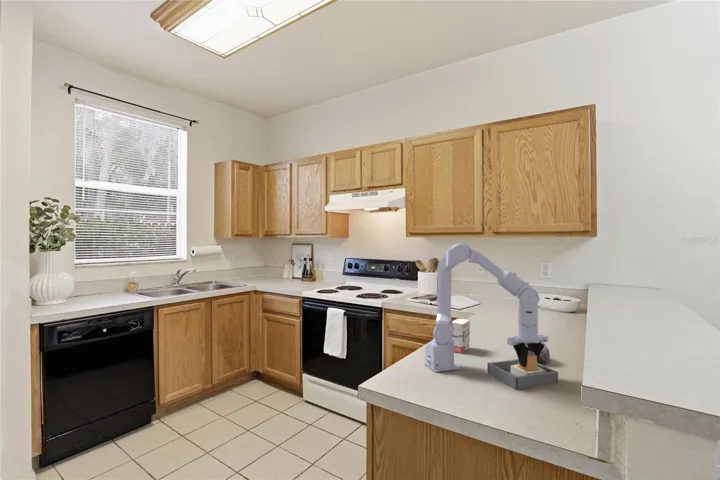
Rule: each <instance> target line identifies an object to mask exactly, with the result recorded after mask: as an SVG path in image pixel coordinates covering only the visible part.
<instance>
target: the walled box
mask: <svg viewBox="0 0 720 480" xmlns="http://www.w3.org/2000/svg"><path fill="white" fill-rule="evenodd" d="M487 374H488V375H490V376H491V377H493V378H495V379H497V380H498V381H500V382H502V383H504V384H505V385H507V386H509V387H510V388H512V389H513V390H515V391H517V390H523V389H529V388H537V387H543V386H550V385H555V384H559V371H557V370H555V369H552V368H550V367H548V366H545V365H544V364H540V363H537V371H529V372H526V371H524V370H522V369H520V368H519V359H518V358H515V359H508V360H501V361H492V362H487Z"/></svg>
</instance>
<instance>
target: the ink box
mask: <svg viewBox="0 0 720 480" xmlns="http://www.w3.org/2000/svg"><path fill="white" fill-rule="evenodd" d="M451 322H452V324H453V327H454V331H453V333H452V338H453V340H454V353H456V354H457V353H458V354H463V353H465V352H466V351H467V350H469V349H470V336H471V335H470V333H471V332H470V331H471V330H470V329H471V320H469V319H466V318H456V319H454V320H453V321H452V320H451Z"/></svg>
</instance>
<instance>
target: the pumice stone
mask: <svg viewBox="0 0 720 480" xmlns="http://www.w3.org/2000/svg"><path fill="white" fill-rule="evenodd" d="M541 344H544V348H543V350H542V351H541V353H540V355H539V358H538V361H537V363H539V364H541V365H548V364H549V363H550V361H551V358H550V357H551V356H550V349H549V348H548V346H547V345H546V343H545V342H541ZM525 345H526V347H528V346H527V344H525Z"/></svg>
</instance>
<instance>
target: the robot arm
mask: <svg viewBox="0 0 720 480" xmlns="http://www.w3.org/2000/svg"><path fill="white" fill-rule="evenodd" d="M466 261H468V263H471V264H472V263H473V264H478V265H479V266H480V267H482V268H483V269H484V270H486V271H487V272H488V273H490V274H491V275H493V276H494V277H495V278H497V279H496V280H497V284H498V285H499V286H501V287H502V288H503V289H504V290H506V291H507V292H508V293H510V294H511V295H512V296H514V297H516V298H517V299H518V309H517V310H518V315H517V316H518V317H517V320H518V321H517V322H518V323H517V327H518V328H517V329H518V331H517V334H518V335H514V336H513V337H508V338H507V339H506V342H507V343H506V344H507V345H509V346H511V347H512V348H513V349H514V351H515V353H516V356H517V359H519V363H520V366H523V367H526V365H527V355H528V351H531V352H534V353H535V355H536V356H537V361H538V358H539V355H540V353H541V351H542V350H543V348H544V344H545V343H548V342H549V335H546V334H539V311H538V308H539V307H538V304H539V302H540V299H541V298H540V296H539V293H538V292H537V290H536V289H535V288H533V286H531V285H530V283H529V282H528V281H526V282H525V281H524V279H522V278H520V277H519V276H518V275H517V274H518V273H516V272H515V271H511V270H503V269H502V268H501V267H499V266H498V265H497V264H496V263H494V262H493V261H492V260H491V259H489V258H488V257H487V256H485V255H484V254H483V253H482V252H480V251H478V250H477V249H475V248H474V247H470V246H469V245H468V244H466V243H464V242H459V243H456V244H454V245H452V246H450V247H449V248H448V249H447V251H446V252H445V253H444V255H443V256H442V258H441V259H440V260H439V261H438V263H437V299H436V301H437V303H436V305H437V307H436V319H435V326H434V329H433V331H432V337H433V338H432V341H431V342H427V343H426V345H425V361H424V365H425V366H427V367H428V368H429V369H431V370H432V371H433V372H435V373H437V372H446V371H454V370H455V371H456V370H459V369H460V367H459V366H458V365H456V364H455V352H454V340H453V338H452V333H453V331H454V327H453V324H452V312H451V311H452V270H453V269H454V268H455V267H456V266H457V265H458V264H459V265H460V264H461V263H464V262H466ZM541 342H544V344H541ZM525 344H527V346H528V347H526V345H525Z"/></svg>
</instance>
